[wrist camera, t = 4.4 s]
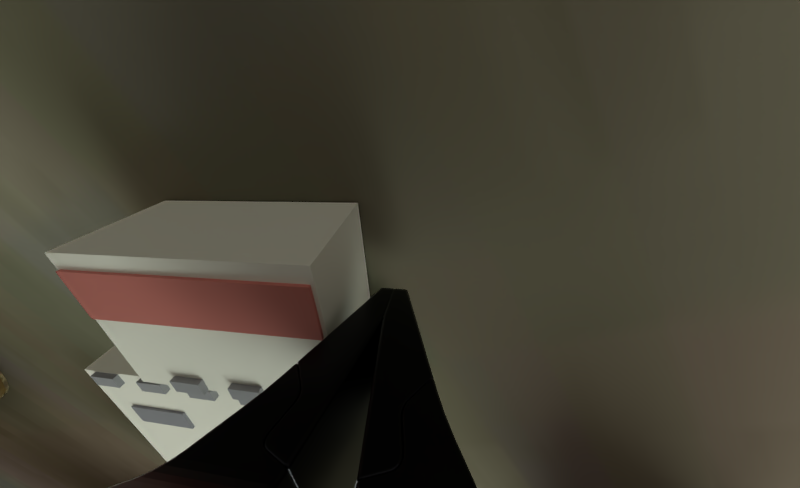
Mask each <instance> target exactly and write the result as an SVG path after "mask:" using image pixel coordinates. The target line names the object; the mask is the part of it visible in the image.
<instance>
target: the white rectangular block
mask: <svg viewBox="0 0 800 488" xmlns="http://www.w3.org/2000/svg"><path fill="white" fill-rule="evenodd" d="M44 253H45V254H46V256H47V257H48V258H49V259H50V261H51V262H52V263H53V265H54V266H55V267H56V269H57V270H58V271H56V273H57V274H58V276H59V277H60V278H61V279H62V281H63V282H64V283H65V285H66V286H67V287H68V289H69V290H70V291H71V292H72V294H73V295H74V296H75V298H76V299H77V300H78V301H79V303H80V304H81V305H82V307H83V308H84V309H85V311H86V312H87V313H88V314H89V316H90V317H91V318H92V319H95V320H96V321H97V322H98V323H99V325H100V326H101V327H102V329H103V330H104V331H105V333H106V334H107V335H108V337H109V338H110V339H111V340H112V342H113V343H114V344H115V346H116V347H117V348H118V350H119V351H120V352H121V353H122V355H123V356H124V357H125V359H126V360H127V361H128V363H129V364H130V365H131V367H132V368H133V369H134V370H135V372H136V373H137V374H138V376H139V377H140V378H141V380H142V381H143V382H150V383H158V384H165V385H172V386H173V387H174V389H175V390H176V392H183V393H191V394H198V395H205V394H206V392H207V391H208V390H211V391H218V392H226V393H230V395H231V397H232V398H233V399H235V400H242V401H251V400H252V399H254V398H255V397H256V396H258V395H259V394H260V393H261V392H263V391H264V390H265V389H266V388H268V387H269V386H270V385H271V384H272V383H274V382H275V381H276V380H277V379H278V378H280V377H281V376H282V375H283V374H284V373H285V372H287V371H288V370H289V369H290V368H291V367H292V366H293V365H295V364H298V361H299V360H300V359H301V358H303V357H304V356H305V355H306V354H307V353H308V352H309V351H311V350H312V349H313V348H314V347H315V346H316V345H317V344H319V343H320V342H321V341H322V340H323V339H324V338H325V337H326V336H328V335H329V334H330V333H331V332H332V331H333V330H334V329H336V328H337V327H338V326H339V325H340V324H341V323H342V322H343V321H345V320H346V319H347V318H348V317H349V316H350V315H351V314H353V313H354V312H355V311H356V310H357V309H358V308H359V307H360V306H362V305H363V304H364V303H365V302H366V301H367V300H368V299H370V291H369V284H368V276H367V268H366V261H365V253H364V245H363V238H362V230H361V222H360V214H359V207H358V203H336V202H251V201H166V200H165V201H163V202H160V203H158V204H156V205H153V206H151V207H149V208H146V209H144V210H142V211H139V212H137V213H135V214H132V215H130V216H128V217H125V218H123V219H121V220H118V221H116V222H114V223H111V224H109V225H107V226H104V227H102V228H100V229H97V230H95V231H93V232H91V233H88V234H86V235H84V236H81V237H79V238H77V239H74V240H72V241H70V242H67V243H65V244H63V245H60V246H58V247H56V248H53V249H51V250H49V251H46V252H44Z"/></svg>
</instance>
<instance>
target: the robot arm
mask: <svg viewBox="0 0 800 488" xmlns="http://www.w3.org/2000/svg"><path fill="white" fill-rule="evenodd" d="M356 481H357V484H356ZM355 484H356V488H477V487H476V484H475V482H474V480H473V478H472V476H471V473H470V471H469V469H468V467H467V464H466V462H465V460H464V458H463V455H462V453H461V451H460V449H459V447H458V444H457V442H456V440H455V438H454V435H453V433H452V430H451V428H450V425H449V423H448V420H447V418H446V415H445V413H444V410H443V407H442V404H441V401H440V398H439V395H438V392H437V388H436V385H435V381H434V380H433V375H432V372H431V368H430V365H429V362H428V358H427V355H426V352H425V348H424V345H423V341H422V338H421V335H420V331H419V328H418V325H417V321H416V318H415V314H414V311H413V308H412V304H411V301H410V297H409V294H408V291H407V290H405V289H390V288H381V289H380V290H379V291H378V292H376V293H375V294H374V295H373V296H372V297H371V298H370V299H368V300H367V301H366V302H365V303H364V304H363V305H362V306H360V307H359V308H358V309H357V310H356V311H355V312H354V313H353V314H351V315H350V316H349V317H348V318H347V319H346V320H345V321H343V322H342V323H341V324H340V325H339V326H338V327H337V328H336V329H334V330H333V331H332V332H331V333H330V334H329V335H328V336H326V337H325V338H324V339H323V340H322V341H321V342H320V343H319V344H317V345H316V346H315V347H314V348H313V349H312V350H311V351H309V352H308V353H307V354H306V355H305V356H304V357H303V358H301V359H300V360H299V361H298V364H295V365H293V366H292V367H291V368H290V369H289V370H288V371H287V372H285V373H284V374H283V375H282V376H281V377H280V378H278V379H277V380H276V381H275V382H274V383H272V384H271V385H270V386H269V387H268V388H266V389H265V390H264V391H263V392H261V393H260V394H259V395H258V396H256V397H255V398H254V399H252V400H251V401H250V402H249V403H247V404H246V405H245V406H243V407H242V408H241V409H239V410H238V411H237V412H235V413H234V414H233V415H231V416H230V417H229V418H227V419H226V420H225V421H223V422H222V423H221V424H219V425H218V426H216V427H215V428H214V429H212V430H211V431H210V432H208V433H207V434H206V435H204V436H203V437H202V438H200V439H199V440H198V441H196V442H195V443H194V444H192V445H191V446H190V447H188V448H187V449H186V450H184V451H183V452H181V453H180V454H178V455H177V456H176V457H174V458H172V459H171V460H169V461H168V462H166V463H164V464H163V465H161V466H159V467H157V468H155V469H153V470H152V471H150V472H147V473H145V474H143V475H141V476H138V477H136V478H133V479H131V480H128V481H125V482H122V483H119V484H116V485H114V486H111V487H108V488H355Z"/></svg>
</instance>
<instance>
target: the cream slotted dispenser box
mask: <svg viewBox="0 0 800 488" xmlns="http://www.w3.org/2000/svg"><path fill="white" fill-rule="evenodd" d="M84 370H85V371H86V372H87V373H88V374H89V375H90V377H91V378H92V379H93V380H94V381H95V382H96V383H97V385H99V386H100V387H101V389H102V390H103V391H104V392H105V393H106V394H107V395H108V396H109V398H110V399H111V400H112V401H113V402H114V403H115V404H116V405H117V407H118V408H119V409H120V410H121V411H122V412H123V413H124V414H125V415H126V417H127V418H128V419H129V420H130V421H131V422H132V423H133V424H134V426H135V427H136V428H137V429H138V430H139V431H140V432H141V433H142V434H143V436H144V437H145V438H146V439H147V440H148V441H149V442H150V443H151V445H152V446H153V447H154V448H155V449H156V450H157V451H158V452H159V454H160V455H161V456H162V457H163V458H164V459H165V460H166V461H167V462H168V461H169V460H171V459H172V458H174V457H176V456H177V455H178V454H180V453H181V452H183V451H184V450H186V449H187V448H188V447H190V446H191V445H192V444H194V443H195V442H196V441H198V440H199V439H200V438H202V437H203V436H204V435H206V434H207V433H208V432H210V431H211V430H212V429H214V428H215V427H216V426H218V425H219V424H221V423H222V422H223V421H225V420H226V419H227V418H229V417H230V416H231V415H233V414H234V413H235V412H237V411H238V410H239V409H241V408H242V407H243V406H245V405H246V404H247V403H249V402H250V401H242V400H235V399H233V398H232V397H231V395H230V393H226V392H218V391H211V390H208V391H207V392H206V394H205V395H198V394H191V393H183V392H176V390H175V389H174V387H173V386H172V385H165V384H158V383H150V382H143V381H142V380H141V378H140V377H139V376H138V374H137V373H136V372H135V370H134V369H133V368H132V367H131V365H130V364H129V363H128V361H127V360H126V359H125V357H124V356H123V355H122V353H121V352H120V351H119V350H118V348H117V347H116V346H115V345H114V346H113V347H112V348H110V349H109V350H108V351H107V352H105V353H104V354H103V355H102V356H100V357H99V358H98V359H97V360H95V361H94V362H93V363H92V364H90V365H89V366H88V367H87V368H85V369H84ZM356 484H357V481H356ZM356 484H355V488H356Z"/></svg>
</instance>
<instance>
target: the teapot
mask: <svg viewBox="0 0 800 488" xmlns="http://www.w3.org/2000/svg"><path fill="white" fill-rule="evenodd" d="M8 390H9V385H8V382H7V380H6V378H5V377H4V375H3V374H2V373H1V371H0V399H1V398H2V397H3V396H4V395H5V394H6V393H7V392H8Z"/></svg>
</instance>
